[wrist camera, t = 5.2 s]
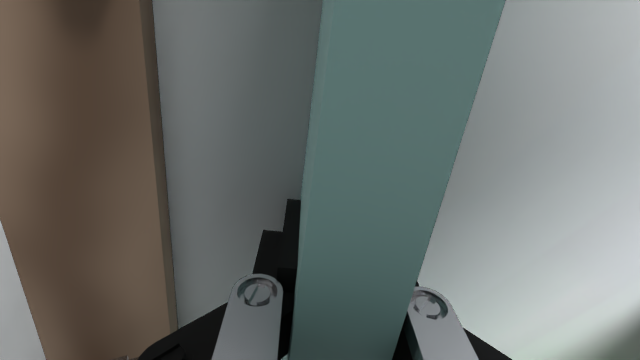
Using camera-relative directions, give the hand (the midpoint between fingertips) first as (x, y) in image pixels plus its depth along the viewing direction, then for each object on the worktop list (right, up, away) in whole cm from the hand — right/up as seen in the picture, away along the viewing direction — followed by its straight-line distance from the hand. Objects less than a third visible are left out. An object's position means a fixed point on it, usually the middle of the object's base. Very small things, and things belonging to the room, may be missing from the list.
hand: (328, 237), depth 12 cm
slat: (0, 0, +1) cm, 1 cm away
